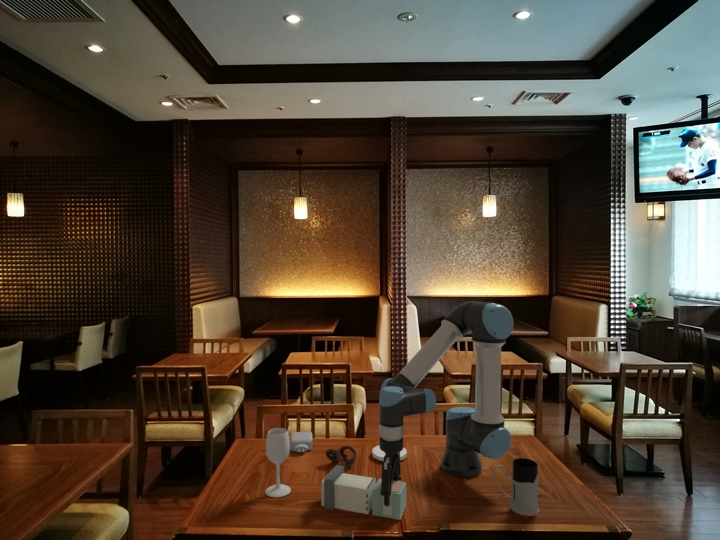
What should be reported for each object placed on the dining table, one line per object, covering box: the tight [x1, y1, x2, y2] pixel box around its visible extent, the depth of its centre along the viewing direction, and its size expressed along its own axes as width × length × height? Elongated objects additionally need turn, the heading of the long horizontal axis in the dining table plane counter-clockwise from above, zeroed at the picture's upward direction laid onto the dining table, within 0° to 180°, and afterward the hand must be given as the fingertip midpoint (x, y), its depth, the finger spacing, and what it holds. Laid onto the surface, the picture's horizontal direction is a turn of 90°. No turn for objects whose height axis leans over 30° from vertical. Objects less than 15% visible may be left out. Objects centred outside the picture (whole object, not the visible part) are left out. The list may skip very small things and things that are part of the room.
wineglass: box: [264, 427, 292, 498], centre depth 163 cm, size 9×9×21 cm
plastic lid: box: [371, 444, 408, 462], centre depth 192 cm, size 14×14×2 cm
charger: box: [289, 431, 313, 453], centre depth 198 cm, size 5×9×15 cm
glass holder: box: [493, 457, 540, 515], centre depth 152 cm, size 9×14×15 cm, turn 81°
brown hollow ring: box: [325, 444, 357, 470], centre depth 184 cm, size 12×10×8 cm
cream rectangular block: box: [320, 464, 377, 515], centre depth 155 cm, size 16×10×10 cm, turn 71°
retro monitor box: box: [371, 478, 407, 521], centre depth 150 cm, size 9×8×8 cm
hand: (391, 507), depth 150 cm, fingers closed on retro monitor box, 8 cm apart
